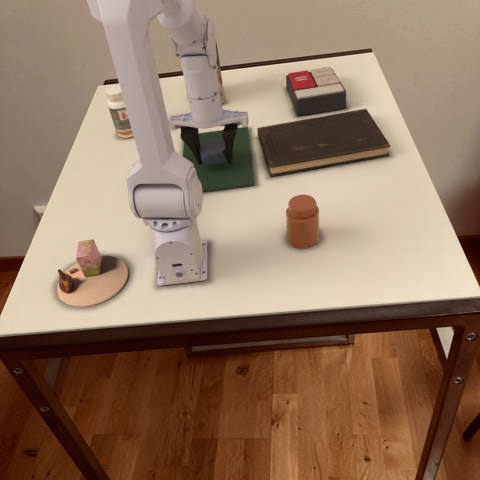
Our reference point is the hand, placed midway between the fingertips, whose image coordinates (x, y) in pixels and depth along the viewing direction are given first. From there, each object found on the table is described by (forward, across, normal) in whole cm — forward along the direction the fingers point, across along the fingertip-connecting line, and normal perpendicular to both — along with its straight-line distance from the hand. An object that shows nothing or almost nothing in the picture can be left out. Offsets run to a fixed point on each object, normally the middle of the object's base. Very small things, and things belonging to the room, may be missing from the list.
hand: (215, 161), depth 99 cm
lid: (-3, 0, 0) cm, 3 cm away
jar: (+2, -18, +21) cm, 28 cm away
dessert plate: (+2, +16, +31) cm, 35 cm away
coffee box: (+2, +8, -31) cm, 32 cm away
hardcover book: (+2, -20, -8) cm, 22 cm away
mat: (+2, +1, -4) cm, 4 cm away
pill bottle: (+2, +23, -17) cm, 29 cm away
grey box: (+2, -18, -29) cm, 34 cm away
